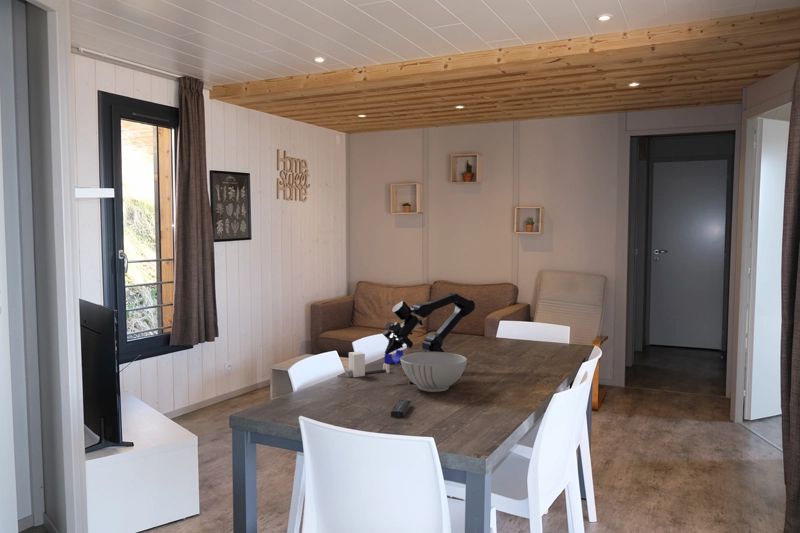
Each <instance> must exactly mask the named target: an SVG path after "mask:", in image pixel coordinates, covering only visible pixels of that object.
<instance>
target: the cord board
mask: <svg viewBox="0 0 800 533" xmlns="http://www.w3.org/2000/svg"><path fill="white" fill-rule="evenodd" d="M380 373H381V374H382V373H386V374H389V373H391V371H390V364H386V363H385V362H384V363H383V364H382V369H377V370H370V371H369V370H368V371H365V375H370V374H371V375H372V374H380ZM344 376H345V377H347V378H349V377H350V378H351V377H353V376H352V371H351V370H349V369H345V372H344Z"/></svg>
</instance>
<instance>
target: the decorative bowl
mask: <svg viewBox="0 0 800 533" xmlns="http://www.w3.org/2000/svg"><path fill="white" fill-rule="evenodd" d="M400 361H401V363H400V364H401V367H402V369H403V372H404V373H405V375H406V377H407V378H408V380H410V381H411V382H412V383H413V384H414V385H416V386H417V388H418V389H419V390H420V391H424V392H431V393H432V392H435V393H436V392H437V393H439V392H446V391H447V390H449V388H450V386H452V385H453V384H455V383H456V382H457V381H458V380H459V378H461V376H462V374H464V372H465V369H466V367H467V363H468V358H467V357H466V356H465V355H461V354H459V353H453V352H446V351H444V352H425V351H419V352H412V353H411V352H410V353H406V354H405V355H404V354H403V356H402V357H401V358H400Z"/></svg>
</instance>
